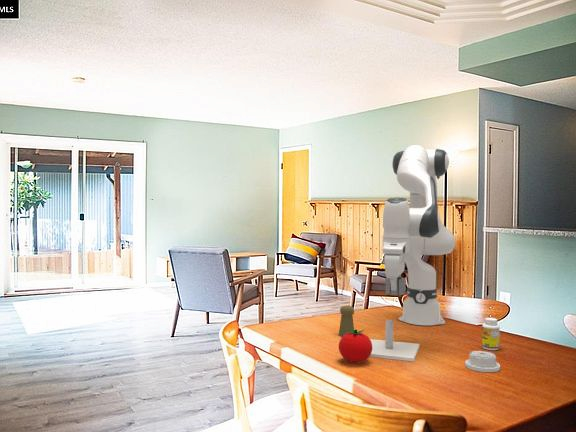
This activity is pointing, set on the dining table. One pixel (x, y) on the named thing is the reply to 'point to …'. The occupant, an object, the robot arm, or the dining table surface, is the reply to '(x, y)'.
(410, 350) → the post block
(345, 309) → the olive pepper mill
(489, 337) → the supplement bottle
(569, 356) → the dining table surface
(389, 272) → the robot arm
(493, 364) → the mechanical component
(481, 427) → the dining table surface
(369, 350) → the tomato
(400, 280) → the ring
